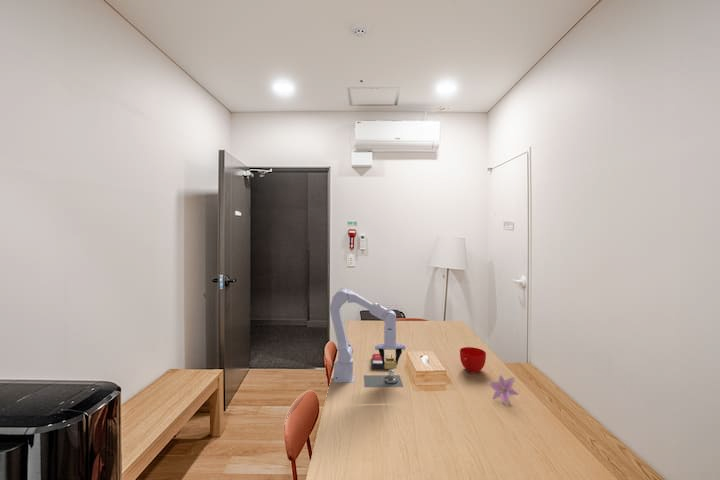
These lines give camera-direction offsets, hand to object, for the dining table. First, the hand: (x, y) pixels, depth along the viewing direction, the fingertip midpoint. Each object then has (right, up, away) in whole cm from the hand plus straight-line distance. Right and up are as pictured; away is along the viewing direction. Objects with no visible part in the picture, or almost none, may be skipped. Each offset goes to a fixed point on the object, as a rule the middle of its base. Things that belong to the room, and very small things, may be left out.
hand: (389, 364), depth 154 cm
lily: (+48, -10, -15) cm, 51 cm away
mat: (-3, -9, 0) cm, 9 cm away
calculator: (-2, -9, +20) cm, 22 cm away
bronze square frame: (0, -1, 0) cm, 1 cm away
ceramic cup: (+43, -9, +12) cm, 46 cm away
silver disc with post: (+1, -8, 0) cm, 8 cm away
